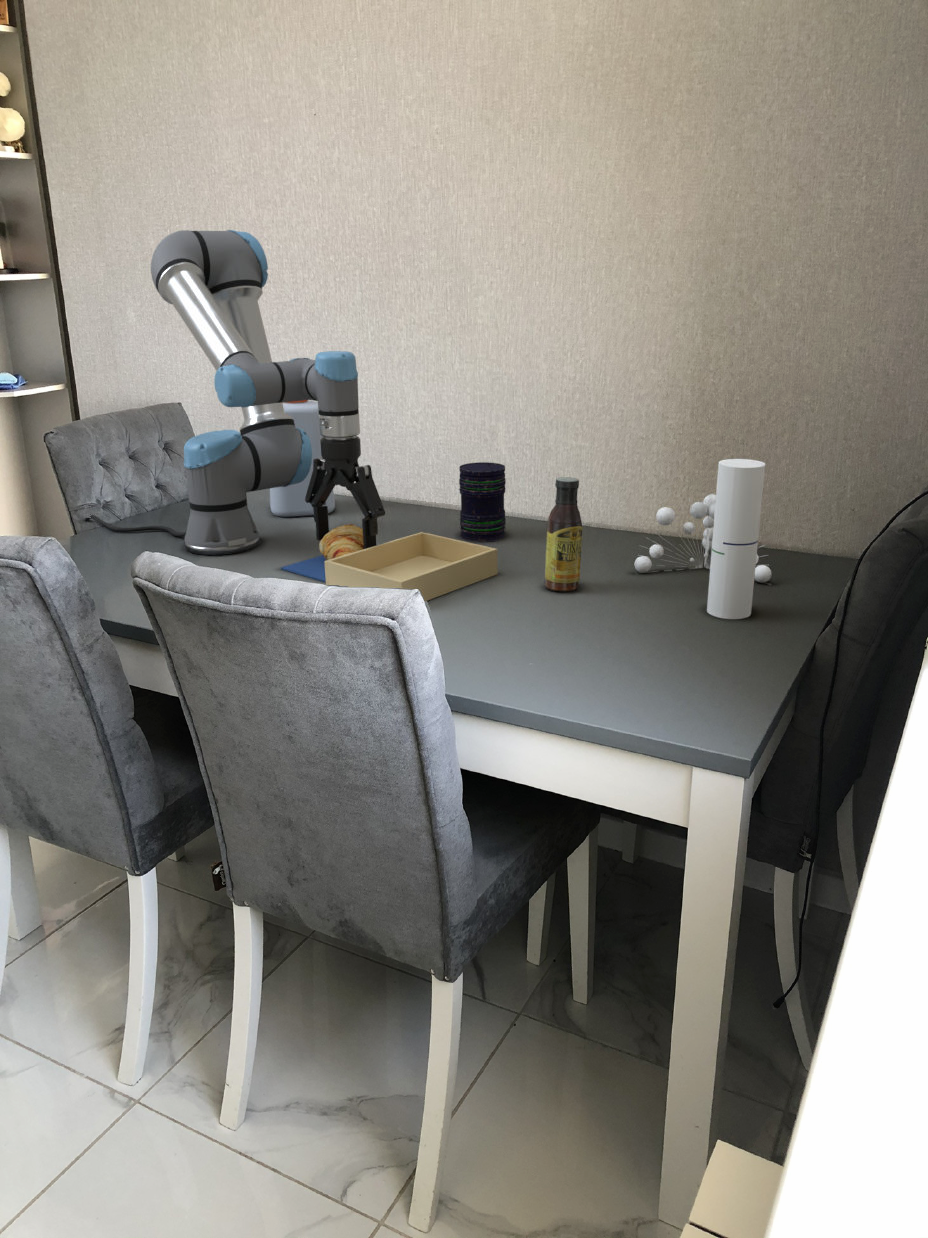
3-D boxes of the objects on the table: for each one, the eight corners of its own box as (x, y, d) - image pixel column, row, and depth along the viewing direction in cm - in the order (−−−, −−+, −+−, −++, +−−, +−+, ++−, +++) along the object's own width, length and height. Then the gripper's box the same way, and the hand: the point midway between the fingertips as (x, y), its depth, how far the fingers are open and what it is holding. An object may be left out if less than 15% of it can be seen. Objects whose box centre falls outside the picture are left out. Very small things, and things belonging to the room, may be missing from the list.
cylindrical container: (743, 622, 157) (757, 469, 148) (700, 614, 160) (712, 465, 152) (756, 609, 163) (770, 461, 154) (714, 602, 166) (726, 457, 157)
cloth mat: (280, 569, 187) (280, 567, 187) (363, 544, 203) (363, 542, 203) (329, 583, 179) (328, 581, 179) (411, 556, 194) (411, 554, 194)
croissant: (363, 592, 183) (382, 556, 181) (314, 570, 180) (333, 533, 178) (358, 557, 202) (376, 524, 200) (314, 536, 199) (331, 503, 197)
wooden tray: (325, 587, 177) (324, 561, 175) (422, 555, 195) (421, 531, 193) (402, 610, 165) (401, 582, 163) (497, 574, 183) (497, 548, 181)
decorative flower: (609, 555, 193) (612, 485, 188) (713, 547, 198) (718, 479, 193) (658, 594, 170) (663, 516, 166) (774, 584, 175) (782, 508, 170)
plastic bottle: (271, 519, 224) (261, 396, 214) (270, 504, 238) (260, 388, 228) (336, 515, 227) (329, 393, 217) (332, 500, 241) (324, 386, 231)
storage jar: (490, 544, 202) (490, 473, 197) (451, 538, 207) (449, 469, 202) (513, 533, 210) (514, 464, 205) (475, 527, 215) (474, 460, 210)
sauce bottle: (556, 595, 171) (559, 484, 164) (538, 585, 176) (539, 477, 169) (587, 589, 173) (591, 480, 167) (568, 580, 179) (571, 473, 172)
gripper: (282, 432, 187) (290, 538, 195) (371, 447, 172) (376, 561, 179) (312, 427, 193) (318, 530, 200) (401, 441, 177) (405, 552, 185)
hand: (346, 545), depth 190 cm, fingers closed on croissant, 13 cm apart
